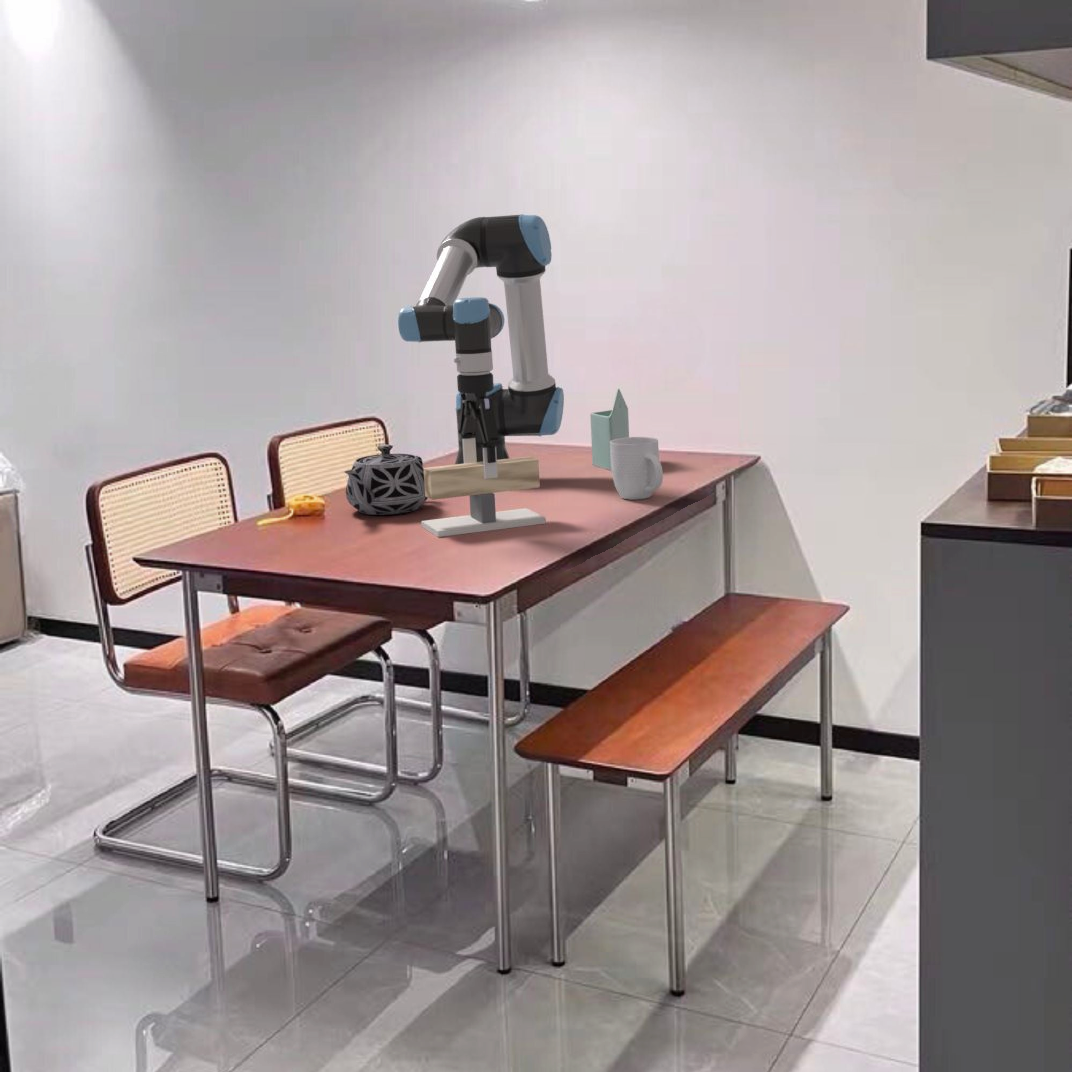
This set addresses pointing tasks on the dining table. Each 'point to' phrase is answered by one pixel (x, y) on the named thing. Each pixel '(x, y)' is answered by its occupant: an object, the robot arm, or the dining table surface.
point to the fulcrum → (482, 518)
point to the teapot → (386, 483)
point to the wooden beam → (480, 478)
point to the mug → (635, 466)
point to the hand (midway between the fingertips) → (480, 473)
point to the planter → (608, 430)
